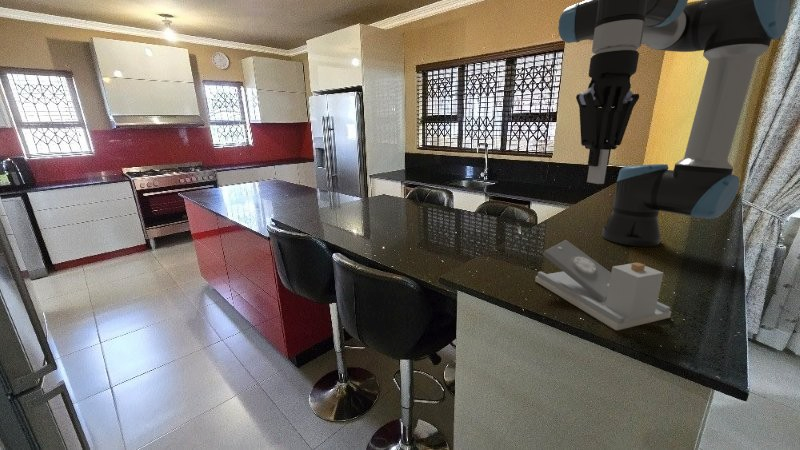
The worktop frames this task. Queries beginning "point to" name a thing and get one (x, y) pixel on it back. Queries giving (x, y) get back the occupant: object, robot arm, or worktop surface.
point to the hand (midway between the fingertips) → (595, 182)
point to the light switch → (580, 268)
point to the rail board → (615, 295)
